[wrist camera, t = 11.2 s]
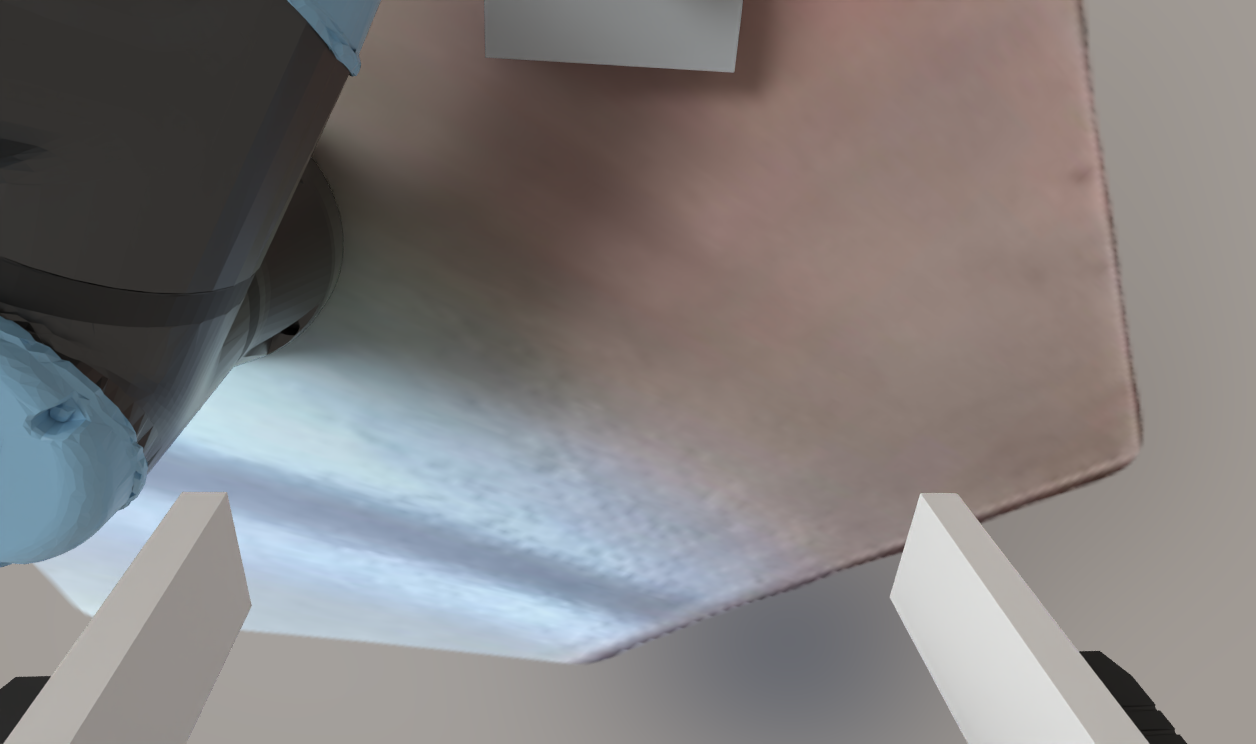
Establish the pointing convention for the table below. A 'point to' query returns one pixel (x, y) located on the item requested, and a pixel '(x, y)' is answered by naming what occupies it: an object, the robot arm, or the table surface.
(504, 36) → the socket block
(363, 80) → the table surface
